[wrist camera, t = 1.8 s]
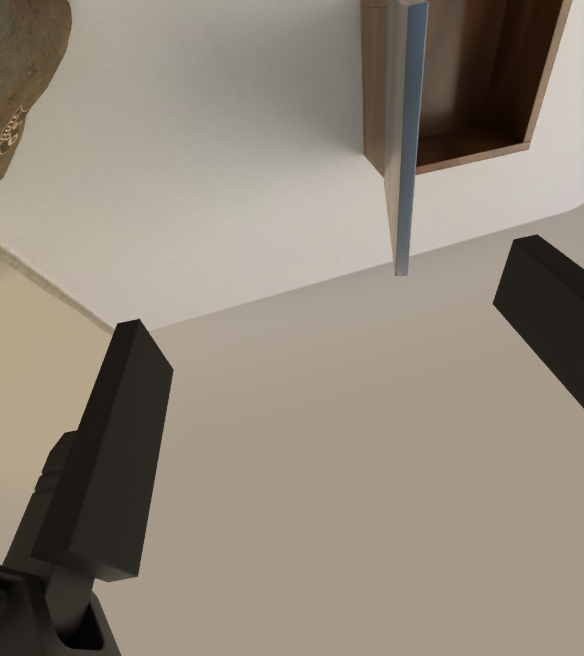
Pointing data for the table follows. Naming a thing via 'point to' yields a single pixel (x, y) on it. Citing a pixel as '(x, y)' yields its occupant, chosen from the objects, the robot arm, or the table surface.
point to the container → (27, 62)
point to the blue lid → (403, 118)
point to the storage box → (467, 78)
